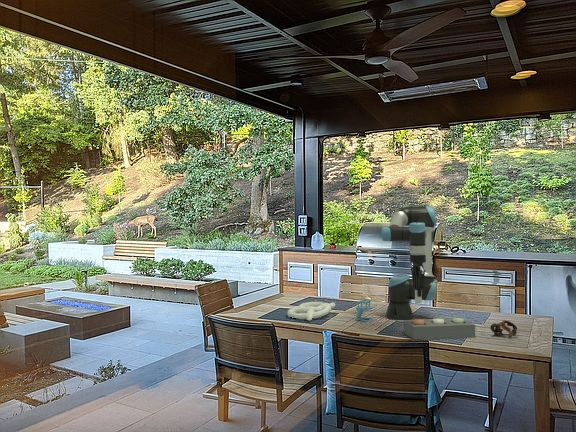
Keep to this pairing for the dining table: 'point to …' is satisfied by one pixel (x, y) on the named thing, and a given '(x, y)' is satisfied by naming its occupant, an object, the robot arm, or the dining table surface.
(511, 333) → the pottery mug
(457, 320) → the sage button
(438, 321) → the cream button
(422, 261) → the robot arm
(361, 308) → the teal overhanging stand
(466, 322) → the button console
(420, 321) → the terracotta button
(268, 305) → the dining table surface
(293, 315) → the pretzel
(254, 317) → the dining table surface
